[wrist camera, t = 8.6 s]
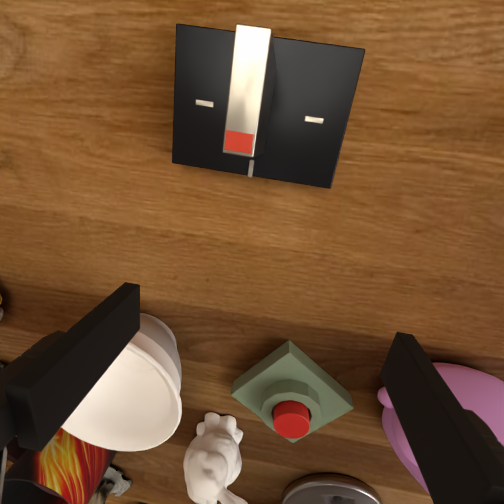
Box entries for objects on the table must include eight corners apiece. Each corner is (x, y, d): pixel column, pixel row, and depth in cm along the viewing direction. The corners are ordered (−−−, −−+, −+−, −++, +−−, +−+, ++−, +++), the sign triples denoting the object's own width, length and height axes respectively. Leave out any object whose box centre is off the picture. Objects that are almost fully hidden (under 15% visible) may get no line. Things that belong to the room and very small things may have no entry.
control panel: (358, 57, 22) (367, 46, 19) (326, 186, 26) (330, 190, 23) (187, 33, 23) (175, 20, 20) (181, 162, 26) (170, 164, 24)
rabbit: (205, 396, 38) (171, 502, 27) (269, 418, 38) (263, 532, 27) (185, 449, 42) (150, 558, 31) (243, 468, 42) (228, 584, 31)
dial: (253, 65, 21) (234, 20, 13) (276, 69, 21) (272, 25, 13) (242, 149, 23) (221, 152, 15) (263, 153, 23) (252, 157, 15)
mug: (47, 364, 39) (-49, 453, 28) (139, 397, 39) (82, 497, 28) (44, 409, 42) (-41, 503, 31) (129, 438, 43) (74, 541, 32)
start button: (315, 414, 32) (317, 428, 30) (290, 429, 33) (290, 443, 31) (291, 393, 31) (292, 407, 29) (266, 410, 32) (265, 424, 31)
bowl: (199, 398, 38) (177, 465, 30) (89, 375, 39) (38, 434, 31) (210, 300, 32) (185, 352, 24) (79, 275, 33) (13, 317, 25)
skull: (140, 472, 47) (122, 512, 41) (107, 509, 50) (86, 551, 44) (91, 440, 46) (65, 476, 40) (59, 479, 49) (31, 518, 43)
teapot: (344, 408, 36) (371, 525, 25) (399, 329, 30) (463, 434, 20) (487, 458, 36) (575, 595, 25) (564, 390, 31) (716, 524, 20)
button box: (350, 392, 35) (358, 422, 31) (292, 427, 38) (292, 458, 34) (288, 339, 33) (289, 364, 29) (233, 380, 36) (227, 407, 32)
